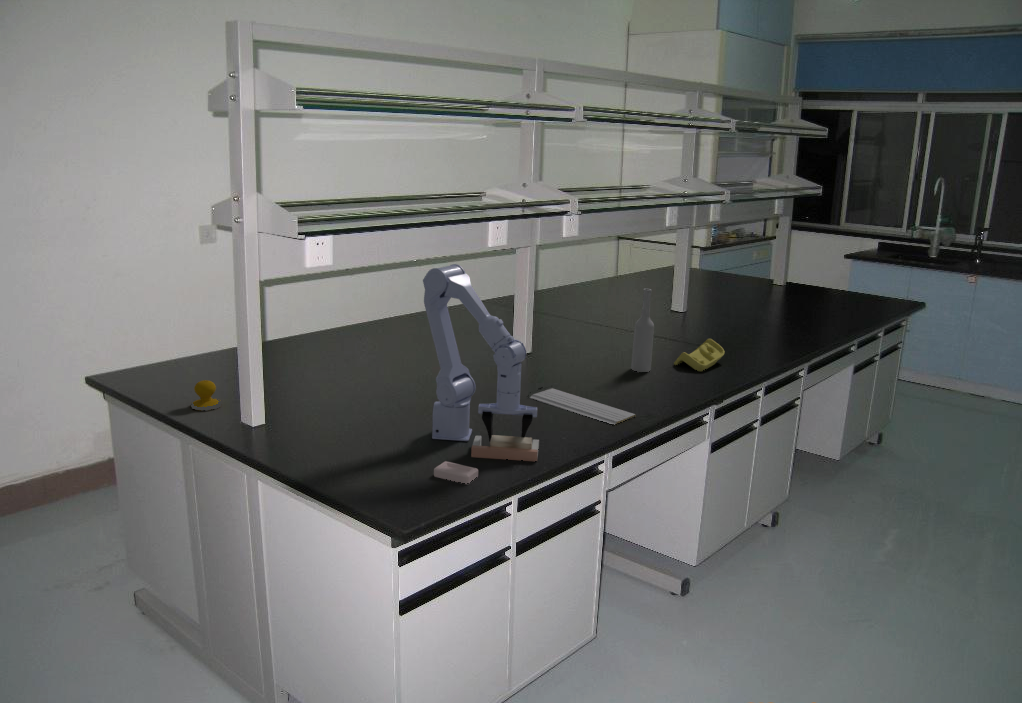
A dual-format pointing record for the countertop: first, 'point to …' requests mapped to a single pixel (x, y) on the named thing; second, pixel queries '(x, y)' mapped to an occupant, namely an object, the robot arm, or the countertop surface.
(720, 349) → the plastic component
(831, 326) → the countertop surface
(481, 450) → the block with end panels
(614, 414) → the baseboard molding
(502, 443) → the slat block
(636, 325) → the bottle
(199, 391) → the doorknob
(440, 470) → the soap bar
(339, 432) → the countertop surface
